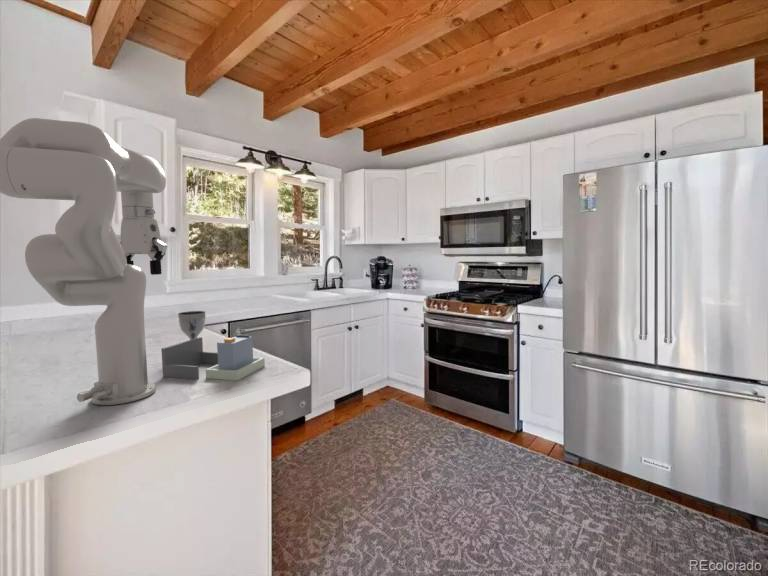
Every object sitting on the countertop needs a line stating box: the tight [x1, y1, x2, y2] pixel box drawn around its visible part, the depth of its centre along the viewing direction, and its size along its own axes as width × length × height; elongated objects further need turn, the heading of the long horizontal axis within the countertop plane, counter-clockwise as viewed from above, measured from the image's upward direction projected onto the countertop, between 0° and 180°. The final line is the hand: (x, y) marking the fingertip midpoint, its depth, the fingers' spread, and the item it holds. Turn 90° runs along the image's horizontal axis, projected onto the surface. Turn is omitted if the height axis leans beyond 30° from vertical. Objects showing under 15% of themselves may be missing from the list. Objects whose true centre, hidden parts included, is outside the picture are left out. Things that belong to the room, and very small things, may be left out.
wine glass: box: [177, 310, 206, 340], centre depth 121 cm, size 8×8×15 cm
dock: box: [161, 337, 218, 380], centre depth 107 cm, size 15×11×8 cm
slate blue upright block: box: [216, 333, 254, 370], centre depth 105 cm, size 5×9×10 cm, turn 166°
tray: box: [205, 356, 266, 382], centre depth 106 cm, size 14×10×2 cm
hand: (142, 274), depth 106 cm, fingers open, 9 cm apart
